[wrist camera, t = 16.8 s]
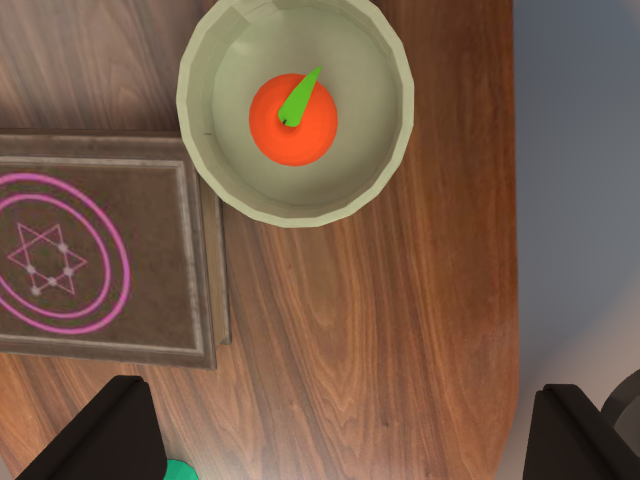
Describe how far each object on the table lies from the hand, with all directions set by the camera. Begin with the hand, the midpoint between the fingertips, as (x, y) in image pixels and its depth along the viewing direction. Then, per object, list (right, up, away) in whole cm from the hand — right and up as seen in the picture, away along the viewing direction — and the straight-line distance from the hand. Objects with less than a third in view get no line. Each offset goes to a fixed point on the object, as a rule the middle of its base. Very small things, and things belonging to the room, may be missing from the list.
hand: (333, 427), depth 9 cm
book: (-25, +5, +29) cm, 39 cm away
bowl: (-2, +16, +23) cm, 28 cm away
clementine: (-2, +15, +23) cm, 27 cm away
